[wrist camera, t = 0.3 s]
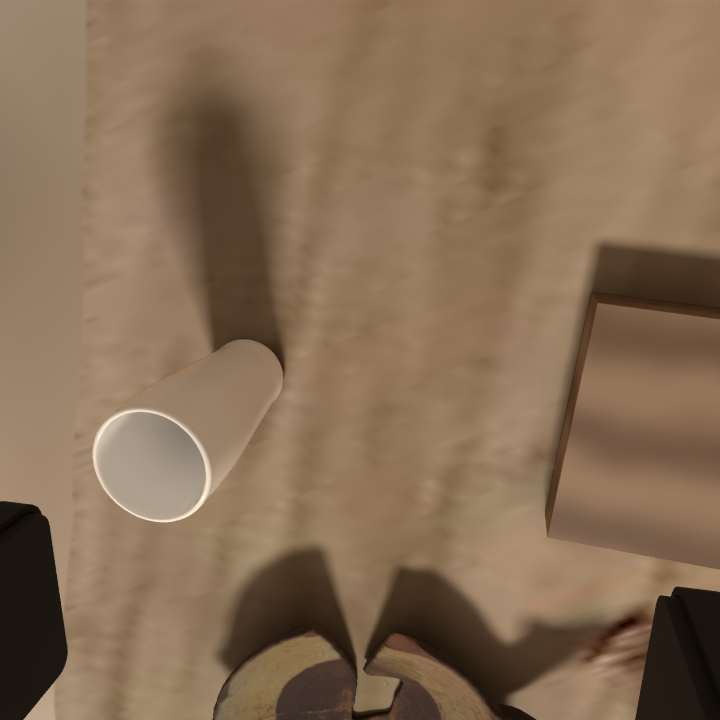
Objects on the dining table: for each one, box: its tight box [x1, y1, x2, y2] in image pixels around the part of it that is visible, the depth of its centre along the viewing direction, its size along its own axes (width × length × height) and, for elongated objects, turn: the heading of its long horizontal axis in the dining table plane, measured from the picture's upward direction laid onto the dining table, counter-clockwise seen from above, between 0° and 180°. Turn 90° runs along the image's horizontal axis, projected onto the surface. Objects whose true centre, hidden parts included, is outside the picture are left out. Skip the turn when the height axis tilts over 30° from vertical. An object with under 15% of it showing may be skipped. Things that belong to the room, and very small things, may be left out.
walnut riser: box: [545, 292, 720, 569], centre depth 43 cm, size 16×16×3 cm
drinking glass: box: [93, 339, 283, 522], centre depth 42 cm, size 7×7×15 cm
